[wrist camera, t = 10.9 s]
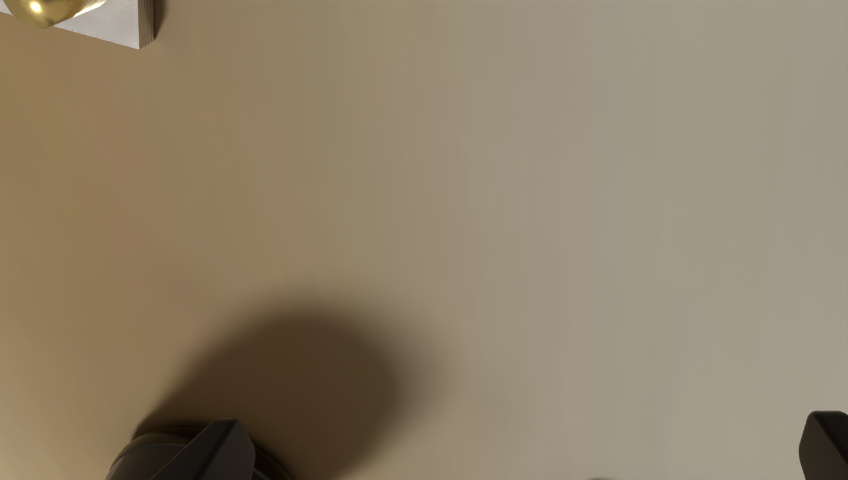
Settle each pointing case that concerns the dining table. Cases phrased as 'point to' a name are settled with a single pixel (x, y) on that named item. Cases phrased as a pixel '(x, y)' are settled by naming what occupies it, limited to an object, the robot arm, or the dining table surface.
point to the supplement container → (163, 445)
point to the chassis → (90, 18)
